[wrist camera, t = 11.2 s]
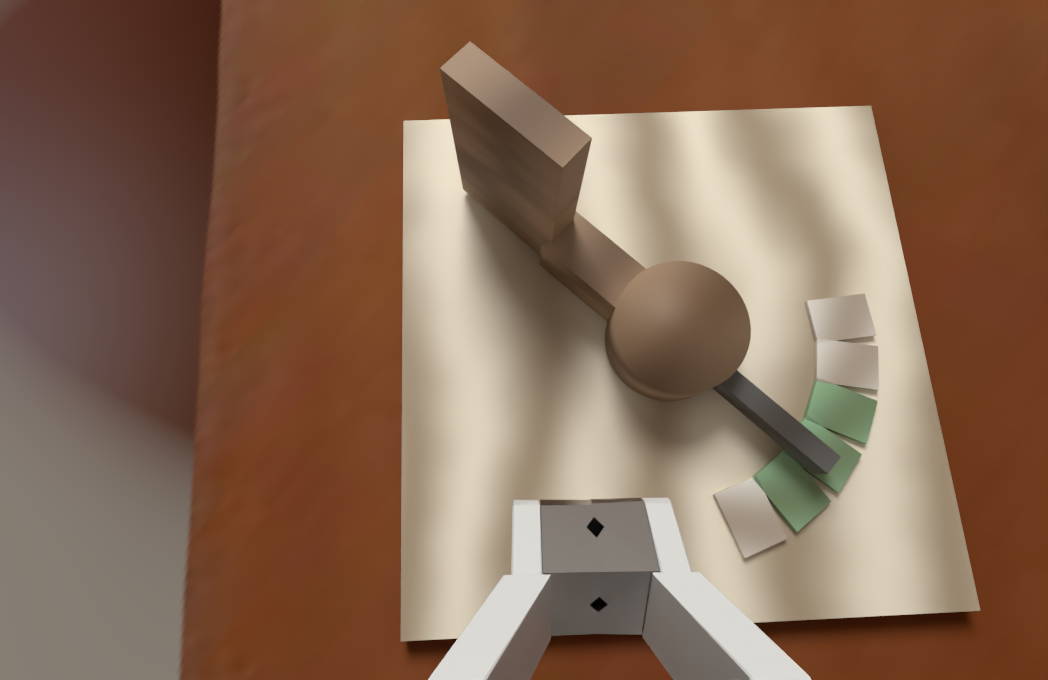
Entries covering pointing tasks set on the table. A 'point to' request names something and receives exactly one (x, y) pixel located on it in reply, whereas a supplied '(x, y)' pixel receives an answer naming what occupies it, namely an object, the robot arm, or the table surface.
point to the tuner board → (701, 420)
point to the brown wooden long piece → (606, 254)
